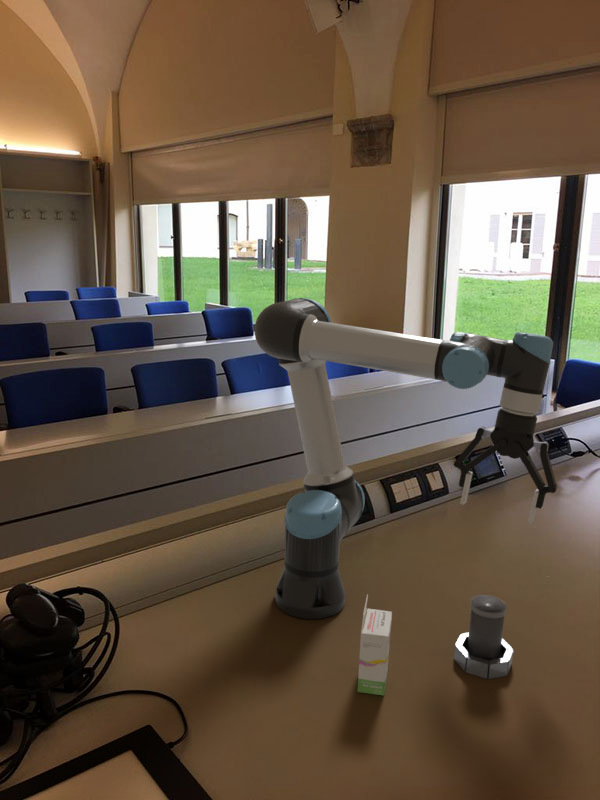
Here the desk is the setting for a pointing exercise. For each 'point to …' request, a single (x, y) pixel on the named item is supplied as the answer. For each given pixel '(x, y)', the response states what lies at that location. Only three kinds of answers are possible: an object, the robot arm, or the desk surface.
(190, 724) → the desk surface
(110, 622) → the desk surface
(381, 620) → the ink box
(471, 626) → the tube
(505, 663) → the collar
